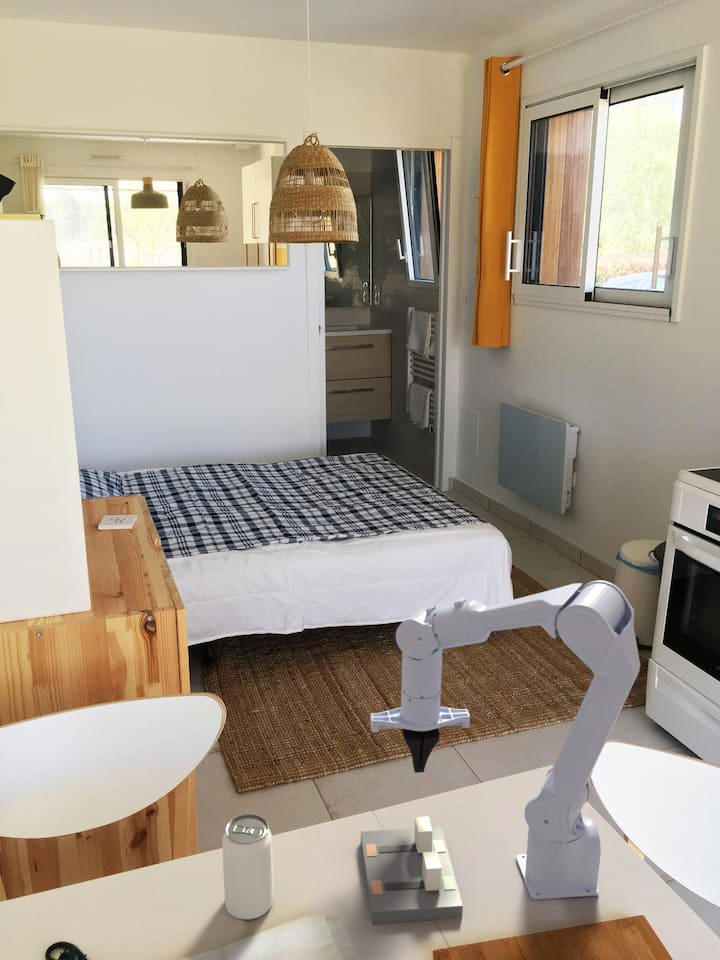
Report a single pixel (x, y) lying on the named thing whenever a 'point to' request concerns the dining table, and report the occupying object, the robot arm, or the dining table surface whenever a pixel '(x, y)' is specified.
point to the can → (248, 866)
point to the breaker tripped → (423, 834)
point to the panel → (406, 878)
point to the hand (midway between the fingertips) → (418, 768)
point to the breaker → (431, 871)
